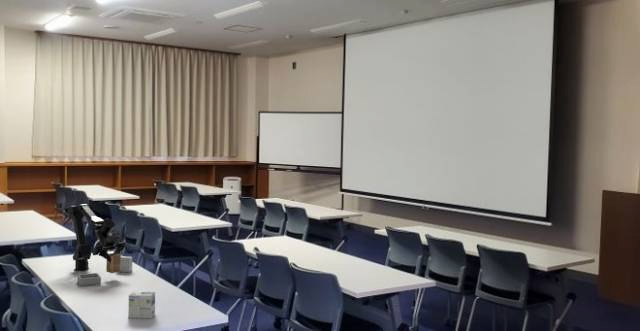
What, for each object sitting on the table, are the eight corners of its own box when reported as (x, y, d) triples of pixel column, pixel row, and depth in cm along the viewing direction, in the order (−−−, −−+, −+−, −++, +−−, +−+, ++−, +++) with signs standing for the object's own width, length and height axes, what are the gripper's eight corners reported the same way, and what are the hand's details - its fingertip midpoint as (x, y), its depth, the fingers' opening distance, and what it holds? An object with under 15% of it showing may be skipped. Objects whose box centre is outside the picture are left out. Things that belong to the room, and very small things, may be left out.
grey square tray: (77, 281, 315) (77, 274, 315) (97, 279, 320) (97, 272, 320) (80, 286, 306) (80, 279, 306) (100, 284, 311) (100, 277, 311)
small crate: (106, 271, 321) (106, 254, 320) (115, 270, 325) (115, 252, 325) (111, 273, 318) (112, 255, 317) (120, 271, 322) (120, 254, 322)
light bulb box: (155, 314, 264) (155, 291, 263) (151, 318, 257) (152, 295, 256) (132, 313, 263) (132, 290, 263) (127, 318, 257) (128, 294, 256)
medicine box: (132, 270, 344) (132, 256, 343) (129, 272, 339) (129, 258, 339) (120, 270, 345) (120, 255, 344) (116, 271, 340) (116, 257, 340)
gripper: (95, 231, 315) (106, 254, 309) (124, 228, 330) (135, 249, 324) (87, 243, 320) (97, 266, 314) (116, 239, 335) (127, 261, 329)
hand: (115, 260), depth 320 cm, fingers closed on small crate, 5 cm apart
